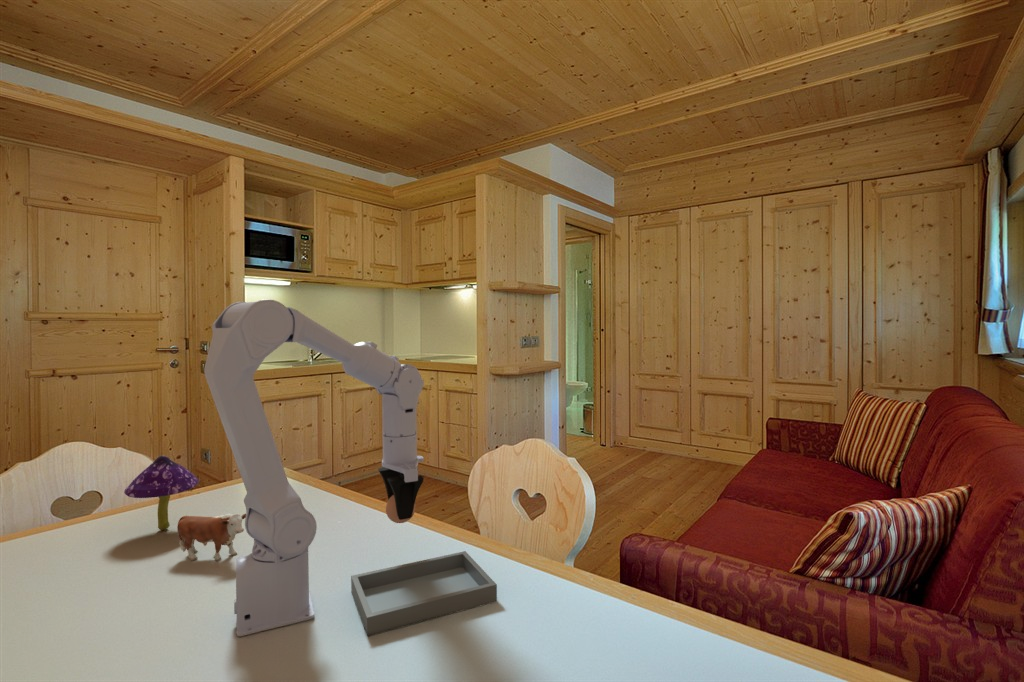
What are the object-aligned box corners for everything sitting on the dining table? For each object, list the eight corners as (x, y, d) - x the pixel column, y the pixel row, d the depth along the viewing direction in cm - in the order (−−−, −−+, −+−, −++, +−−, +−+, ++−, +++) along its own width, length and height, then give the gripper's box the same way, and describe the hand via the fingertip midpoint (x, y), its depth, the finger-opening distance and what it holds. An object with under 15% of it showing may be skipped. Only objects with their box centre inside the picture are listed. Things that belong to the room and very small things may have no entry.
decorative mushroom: (181, 540, 97) (179, 462, 96) (109, 544, 95) (107, 465, 95) (211, 516, 109) (209, 447, 109) (148, 519, 108) (146, 449, 107)
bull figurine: (238, 566, 86) (237, 518, 86) (171, 559, 89) (170, 513, 89) (256, 554, 90) (255, 509, 90) (191, 548, 93) (190, 504, 93)
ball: (389, 529, 83) (389, 499, 83) (383, 519, 88) (382, 491, 88) (419, 524, 86) (419, 495, 86) (411, 514, 90) (410, 487, 90)
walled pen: (367, 636, 66) (367, 617, 66) (351, 592, 77) (351, 575, 77) (496, 601, 74) (496, 584, 74) (465, 565, 86) (465, 551, 86)
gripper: (435, 439, 82) (436, 522, 82) (411, 424, 95) (412, 496, 95) (392, 444, 79) (393, 530, 79) (372, 428, 92) (373, 502, 92)
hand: (400, 512), depth 87 cm, fingers closed on ball, 5 cm apart
